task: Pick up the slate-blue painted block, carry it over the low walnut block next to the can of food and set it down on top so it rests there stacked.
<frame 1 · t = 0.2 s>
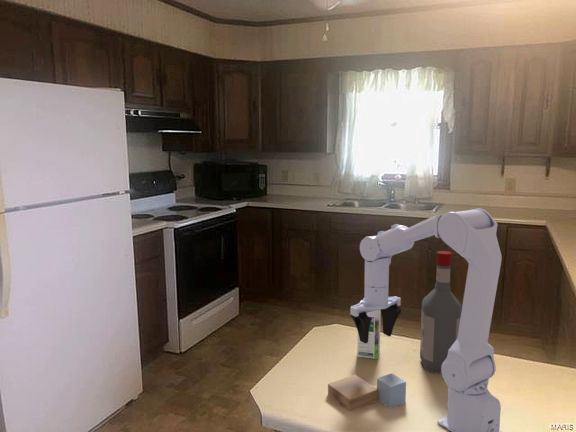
hand: (375, 338, 113), 10 cm above the table, tool pointing down, fingers open, 7 cm apart
liquor: (439, 365, 120), on the table
blue block: (390, 400, 104), on the table
walnut block: (352, 398, 105), on the table
syrup box: (368, 354, 127), on the table
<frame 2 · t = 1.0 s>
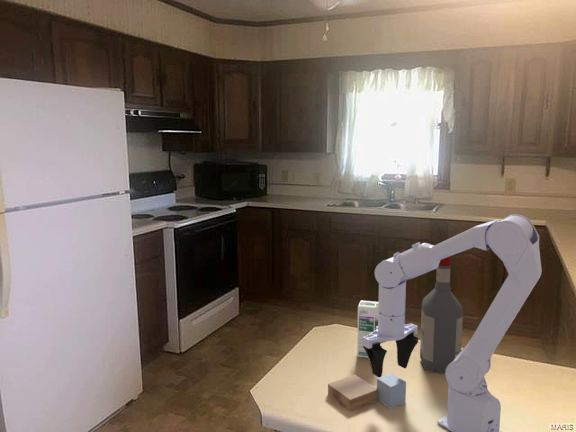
hand: (389, 370, 103), 7 cm above the table, tool pointing down, fingers open, 7 cm apart
nothing on the table moved.
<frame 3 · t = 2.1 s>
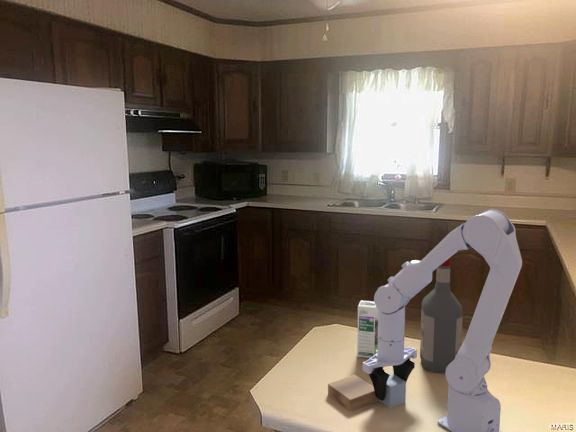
hand: (389, 394, 103), 1 cm above the table, tool pointing down, fingers open, 5 cm apart
blue block: (390, 400, 104), on the table, touching gripper
everything else where it was.
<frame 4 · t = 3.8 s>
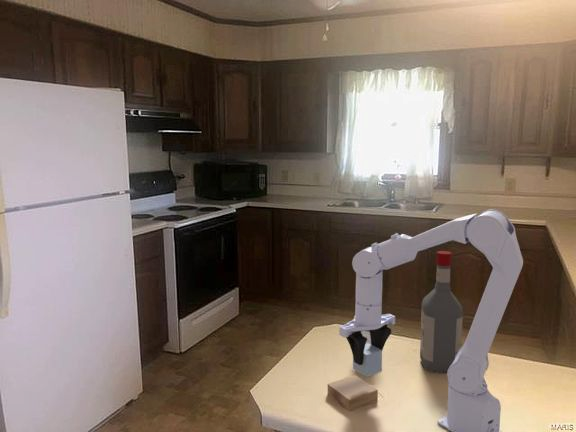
hand: (367, 360, 103), 9 cm above the table, tool pointing down, fingers closed on blue block, 4 cm apart
blue block: (367, 370, 104), point 7 cm above the table, touching gripper
everything else where it was.
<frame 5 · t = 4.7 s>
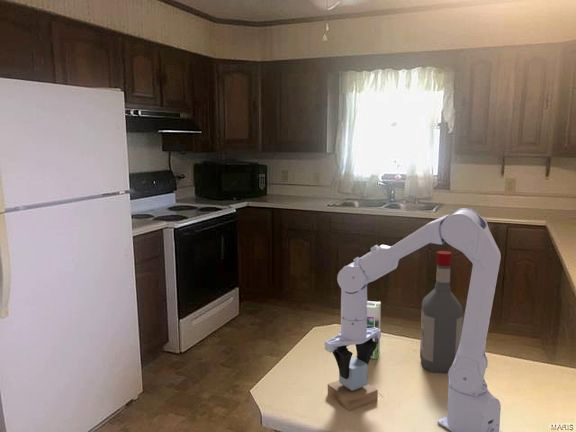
hand: (353, 374, 104), 6 cm above the table, tool pointing down, fingers closed on blue block, 4 cm apart
blue block: (353, 383, 105), point 3 cm above the table, touching gripper
everything else where it was.
when the fingers open (6 cm above the table, at t = 5.4 s): blue block stays where it is, resting on walnut block.
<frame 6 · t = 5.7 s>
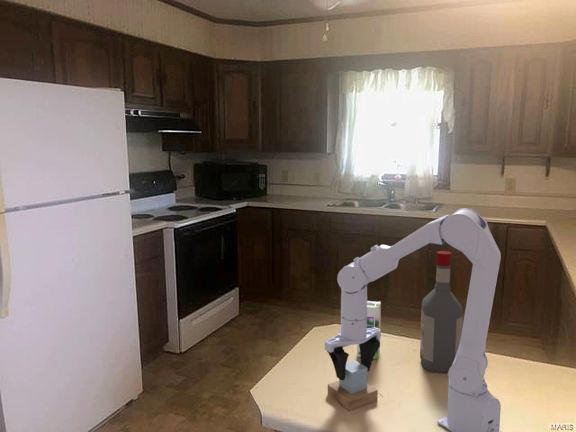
hand: (353, 374, 104), 6 cm above the table, tool pointing down, fingers open, 7 cm apart
blue block: (353, 387, 105), point 3 cm above the table, touching walnut block
walnut block: (352, 399, 105), on the table, touching blue block
everything else where it was.
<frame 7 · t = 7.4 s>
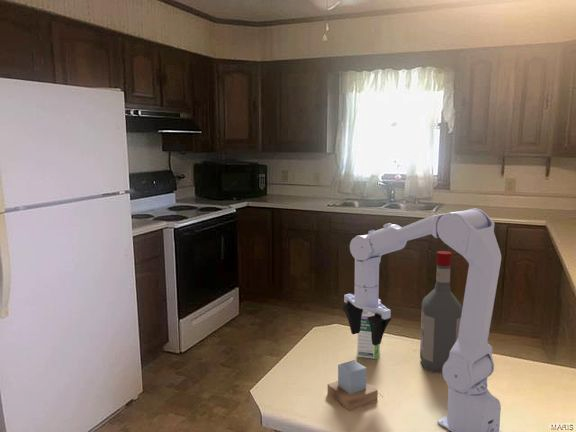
hand: (365, 338, 112), 10 cm above the table, tool pointing down, fingers open, 7 cm apart
nothing on the table moved.
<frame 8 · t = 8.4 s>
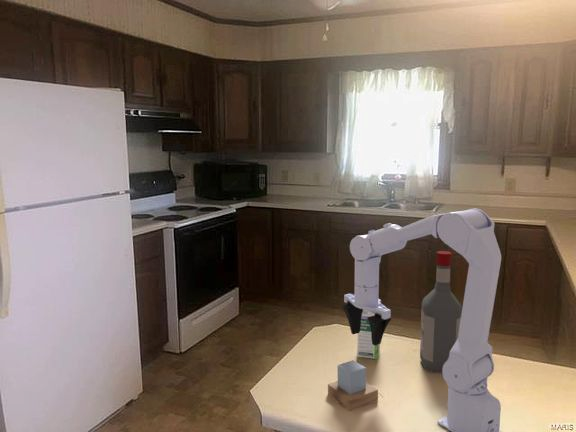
hand: (365, 338, 112), 10 cm above the table, tool pointing down, fingers open, 7 cm apart
nothing on the table moved.
at the end: blue block 0.3 cm off-centre on the walnut block, point 3.0 cm above the walnut block's base; blue block tilted 1°; the gripper is holding nothing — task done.
